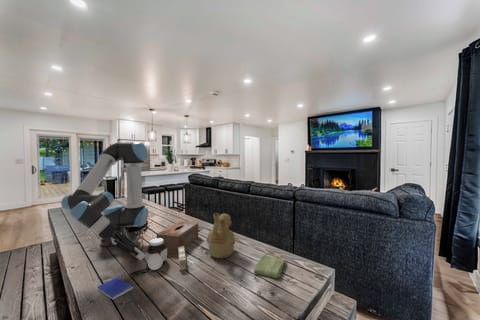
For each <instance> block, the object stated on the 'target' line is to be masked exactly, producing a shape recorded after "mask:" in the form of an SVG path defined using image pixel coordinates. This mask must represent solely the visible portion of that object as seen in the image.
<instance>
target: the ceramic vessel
mask: <svg viewBox="0 0 480 320" xmlns="http://www.w3.org/2000/svg"><path fill="white" fill-rule="evenodd" d="M213 222H214V223H213V227H212V229H211V230H210V231H209V233H208V235H207V237H206V242H207V244H208V252H209V255H210V256H211V257H212V258H215V259H225V258H226V259H227V258H229V257H230V256H231V255H232V254H233V252H234V250H235V249H234V248H235V244H236V238H235V235H234V232H233V231H232V230H231V229H229V228H230V227H231V226H232V220H231V216H230V214H228V213H221V214H220V213H218V212H215V213H213Z"/></svg>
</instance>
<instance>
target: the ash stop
mask: <svg viewBox="0 0 480 320" xmlns="http://www.w3.org/2000/svg"><path fill="white" fill-rule="evenodd" d="M177 254H178V268H179V271H183V270H186V269H187V267H186V266H187V262H186V261H187V258H186V251H185V248H184V246H180V247H178V253H177Z"/></svg>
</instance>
